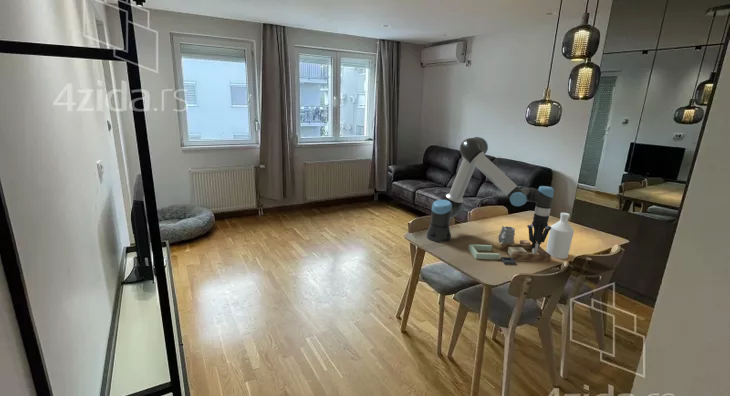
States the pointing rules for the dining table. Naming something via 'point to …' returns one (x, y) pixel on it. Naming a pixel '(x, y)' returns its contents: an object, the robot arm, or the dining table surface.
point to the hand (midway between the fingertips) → (534, 253)
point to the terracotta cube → (524, 242)
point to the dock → (477, 255)
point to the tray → (507, 260)
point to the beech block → (516, 250)
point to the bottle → (560, 238)
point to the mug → (507, 235)
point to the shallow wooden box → (540, 256)
